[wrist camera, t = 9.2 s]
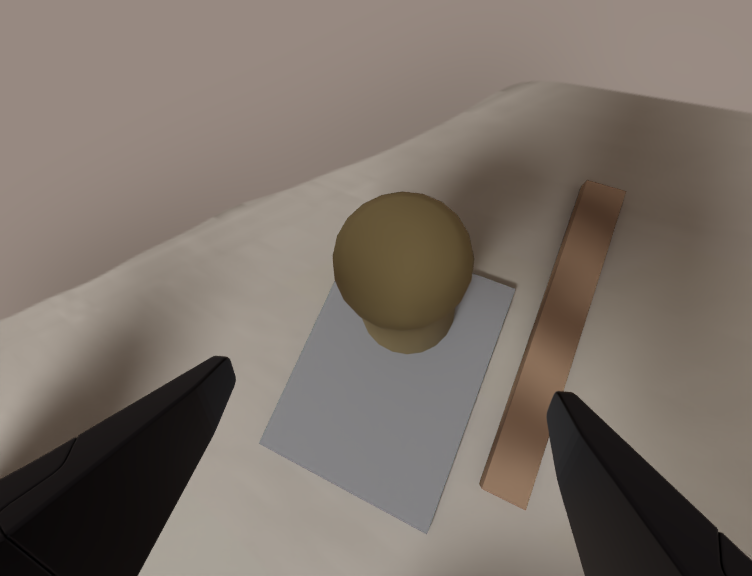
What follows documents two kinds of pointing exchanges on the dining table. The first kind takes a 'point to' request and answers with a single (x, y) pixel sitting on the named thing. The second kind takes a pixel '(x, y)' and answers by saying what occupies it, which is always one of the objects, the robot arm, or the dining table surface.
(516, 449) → the walnut line
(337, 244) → the cork
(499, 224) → the dining table surface
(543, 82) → the dining table surface
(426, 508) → the mat
